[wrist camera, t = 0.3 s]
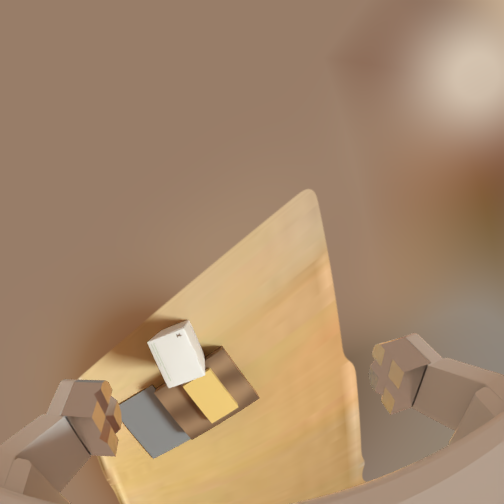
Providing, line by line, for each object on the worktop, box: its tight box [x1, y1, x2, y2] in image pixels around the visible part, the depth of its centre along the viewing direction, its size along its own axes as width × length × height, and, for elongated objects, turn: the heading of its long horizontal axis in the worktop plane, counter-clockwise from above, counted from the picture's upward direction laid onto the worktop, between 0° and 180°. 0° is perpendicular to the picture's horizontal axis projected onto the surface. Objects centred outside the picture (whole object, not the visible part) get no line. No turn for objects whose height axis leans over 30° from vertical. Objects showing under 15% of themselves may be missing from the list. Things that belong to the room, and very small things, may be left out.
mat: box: [119, 385, 191, 459], centre depth 54 cm, size 14×11×1 cm
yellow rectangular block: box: [183, 367, 238, 423], centre depth 53 cm, size 9×6×2 cm, turn 35°
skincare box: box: [147, 320, 205, 388], centre depth 51 cm, size 8×7×16 cm
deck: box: [154, 346, 259, 439], centre depth 55 cm, size 12×16×4 cm
